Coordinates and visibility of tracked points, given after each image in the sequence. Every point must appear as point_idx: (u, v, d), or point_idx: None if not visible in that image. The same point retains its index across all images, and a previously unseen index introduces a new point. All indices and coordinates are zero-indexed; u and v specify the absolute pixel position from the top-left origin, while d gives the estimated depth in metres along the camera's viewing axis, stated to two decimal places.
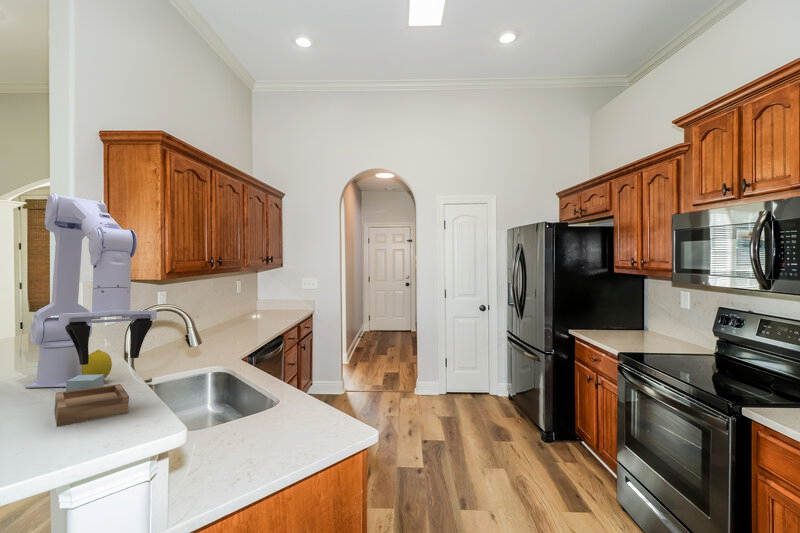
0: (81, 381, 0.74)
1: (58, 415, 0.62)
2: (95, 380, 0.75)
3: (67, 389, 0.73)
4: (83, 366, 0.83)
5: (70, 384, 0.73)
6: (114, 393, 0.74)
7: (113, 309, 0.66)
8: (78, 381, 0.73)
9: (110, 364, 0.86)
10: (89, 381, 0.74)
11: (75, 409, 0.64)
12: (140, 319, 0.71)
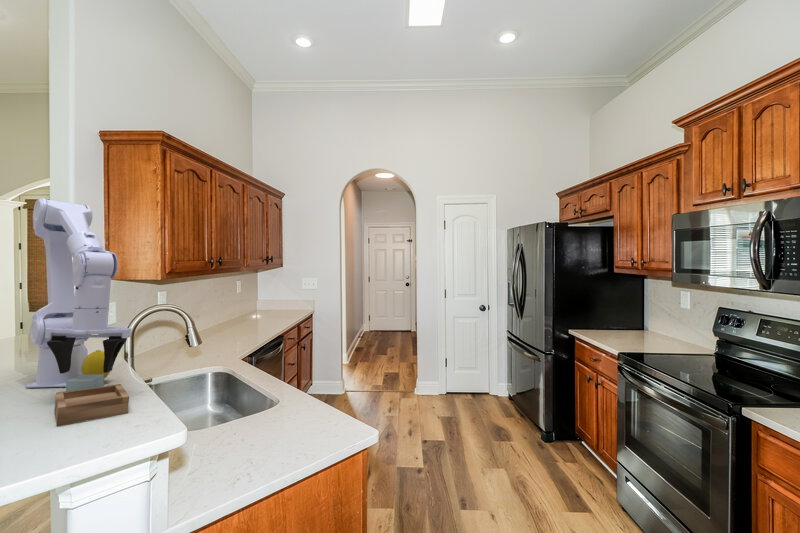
0: (81, 381, 0.74)
1: (58, 415, 0.62)
2: (95, 380, 0.75)
3: (67, 389, 0.73)
4: (83, 366, 0.83)
5: (70, 384, 0.73)
6: (114, 393, 0.74)
7: (79, 328, 0.73)
8: (78, 381, 0.73)
9: None
10: (89, 381, 0.74)
11: (75, 409, 0.64)
12: (112, 337, 0.76)
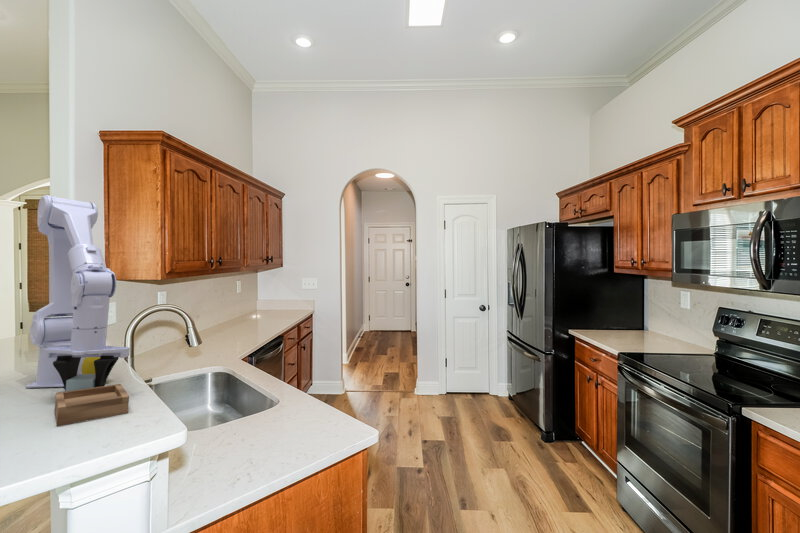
0: (81, 380, 0.74)
1: (58, 415, 0.62)
2: None
3: (67, 388, 0.73)
4: (83, 366, 0.83)
5: (70, 383, 0.73)
6: (114, 393, 0.74)
7: (77, 349, 0.73)
8: (78, 380, 0.73)
9: None
10: (89, 380, 0.74)
11: (75, 409, 0.64)
12: (110, 357, 0.76)
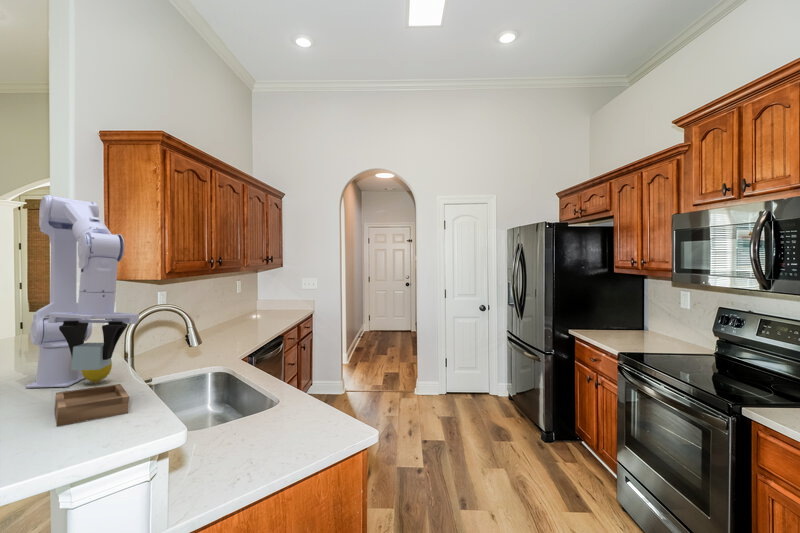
0: (89, 347, 0.70)
1: (58, 415, 0.62)
2: None
3: (74, 355, 0.69)
4: None
5: (77, 350, 0.70)
6: (114, 393, 0.74)
7: (85, 313, 0.70)
8: (85, 347, 0.70)
9: (110, 364, 0.86)
10: (97, 347, 0.71)
11: (75, 409, 0.64)
12: (119, 322, 0.73)
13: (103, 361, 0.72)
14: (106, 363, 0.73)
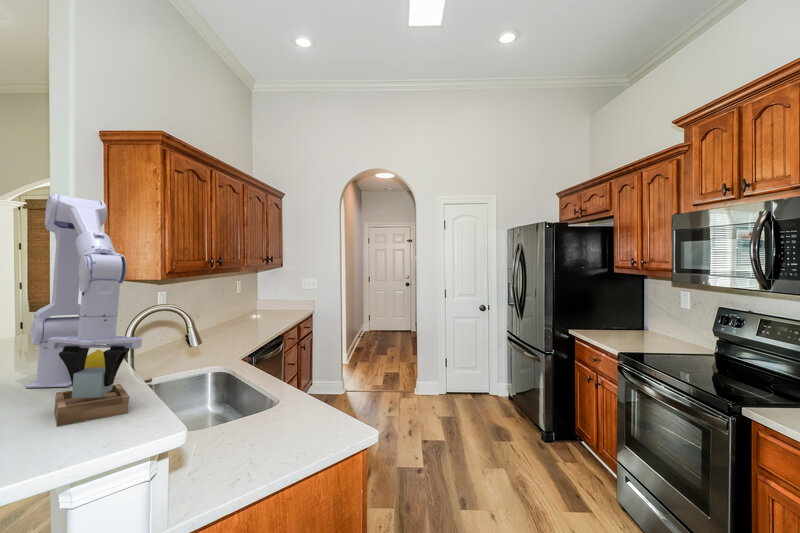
0: (90, 374, 0.67)
1: (58, 415, 0.62)
2: None
3: (74, 383, 0.67)
4: None
5: (78, 377, 0.67)
6: (114, 393, 0.74)
7: (86, 338, 0.67)
8: (86, 374, 0.67)
9: None
10: (98, 374, 0.68)
11: (75, 409, 0.64)
12: (121, 347, 0.70)
13: (105, 388, 0.69)
14: (108, 389, 0.71)
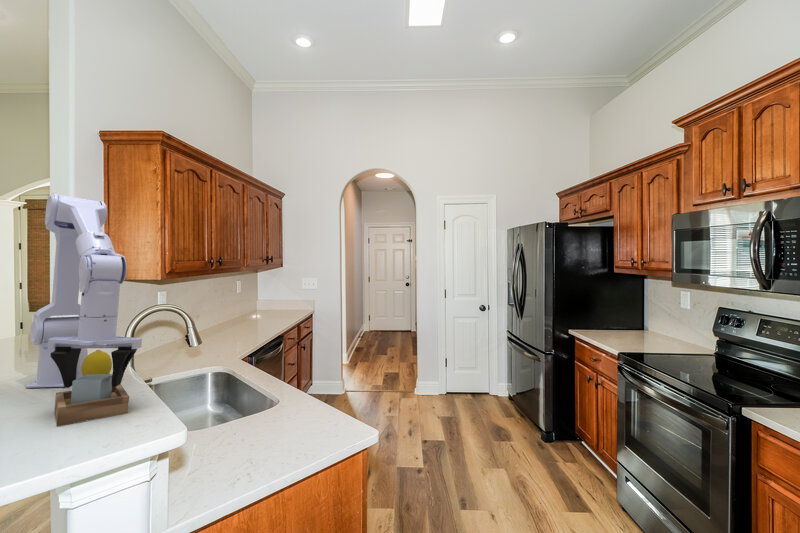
0: (88, 381, 0.67)
1: (58, 415, 0.62)
2: (104, 380, 0.69)
3: (73, 390, 0.67)
4: (83, 366, 0.83)
5: (77, 385, 0.67)
6: (114, 393, 0.74)
7: (86, 339, 0.67)
8: (85, 381, 0.67)
9: (110, 364, 0.86)
10: (97, 381, 0.68)
11: (75, 409, 0.64)
12: (121, 348, 0.70)
13: (104, 395, 0.69)
14: (107, 396, 0.71)
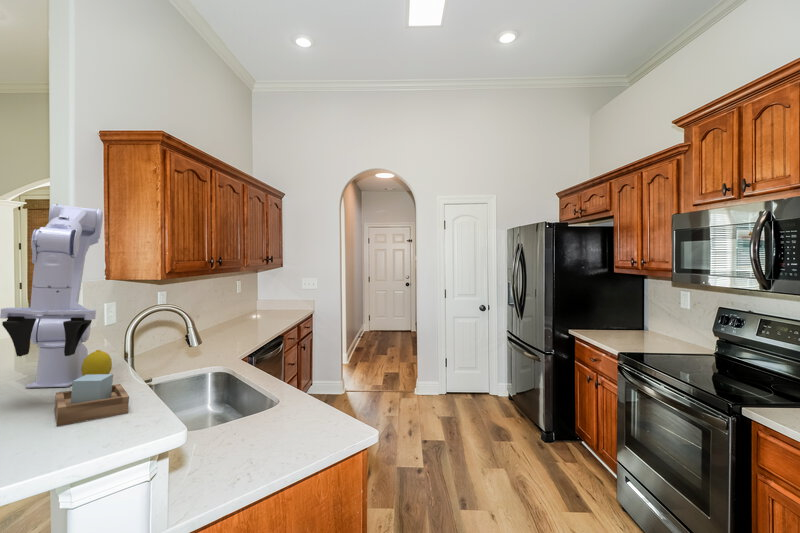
0: (88, 381, 0.67)
1: (58, 415, 0.62)
2: (104, 380, 0.69)
3: (73, 390, 0.67)
4: (83, 366, 0.83)
5: (77, 385, 0.67)
6: (114, 393, 0.74)
7: (37, 308, 0.69)
8: (85, 381, 0.67)
9: (110, 364, 0.86)
10: (97, 381, 0.68)
11: (75, 409, 0.64)
12: (74, 318, 0.72)
13: (104, 395, 0.69)
14: (107, 396, 0.71)
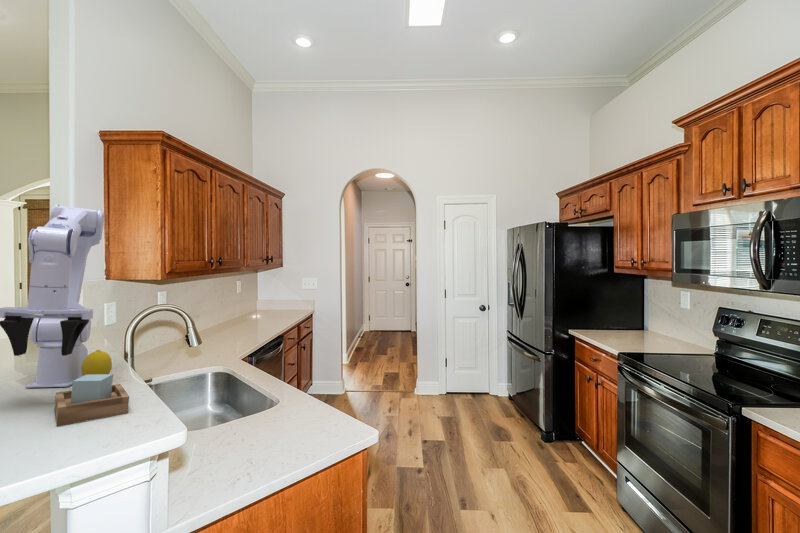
0: (88, 381, 0.67)
1: (58, 415, 0.62)
2: (104, 380, 0.69)
3: (73, 390, 0.67)
4: (83, 366, 0.83)
5: (77, 385, 0.67)
6: (114, 393, 0.74)
7: (34, 308, 0.69)
8: (85, 381, 0.67)
9: (110, 364, 0.86)
10: (97, 381, 0.68)
11: (75, 409, 0.64)
12: (71, 318, 0.72)
13: (104, 395, 0.69)
14: (107, 396, 0.71)
